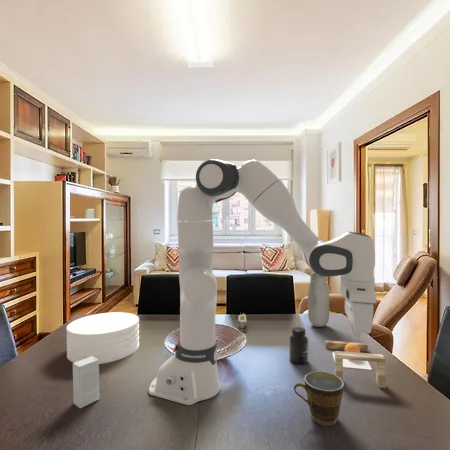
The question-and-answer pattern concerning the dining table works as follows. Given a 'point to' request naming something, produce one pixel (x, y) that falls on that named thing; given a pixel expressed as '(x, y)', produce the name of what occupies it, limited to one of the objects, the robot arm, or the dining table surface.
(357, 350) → the ball
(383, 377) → the bridge
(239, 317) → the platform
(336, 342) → the rail
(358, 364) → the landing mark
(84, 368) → the skincare box
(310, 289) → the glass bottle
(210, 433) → the dining table surface
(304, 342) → the supplement bottle
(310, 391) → the ceramic cup
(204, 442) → the dining table surface
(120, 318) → the plate stack
